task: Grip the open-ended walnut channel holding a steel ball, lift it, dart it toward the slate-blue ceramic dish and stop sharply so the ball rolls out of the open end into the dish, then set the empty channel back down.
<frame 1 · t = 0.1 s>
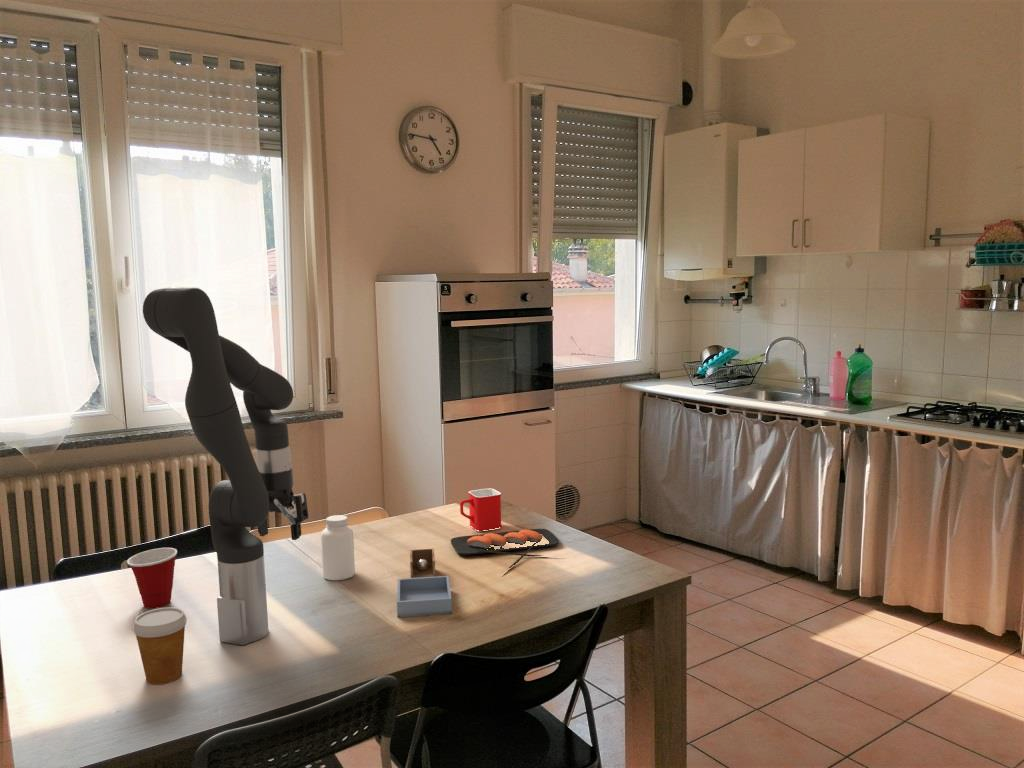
hand: (279, 537, 183), 17 cm above the table, tool pointing down, fingers open, 8 cm apart
ball: (422, 564, 207), point 2 cm above the table, touching channel
sushi plate: (512, 556, 220), on the table
mug: (479, 529, 243), on the table
pill bottle: (339, 576, 207), on the table
channel: (423, 576, 205), on the table, touching ball
plastic cup: (156, 604, 191), on the table
dish: (424, 603, 188), on the table
disposable coffee cup: (164, 677, 156), on the table
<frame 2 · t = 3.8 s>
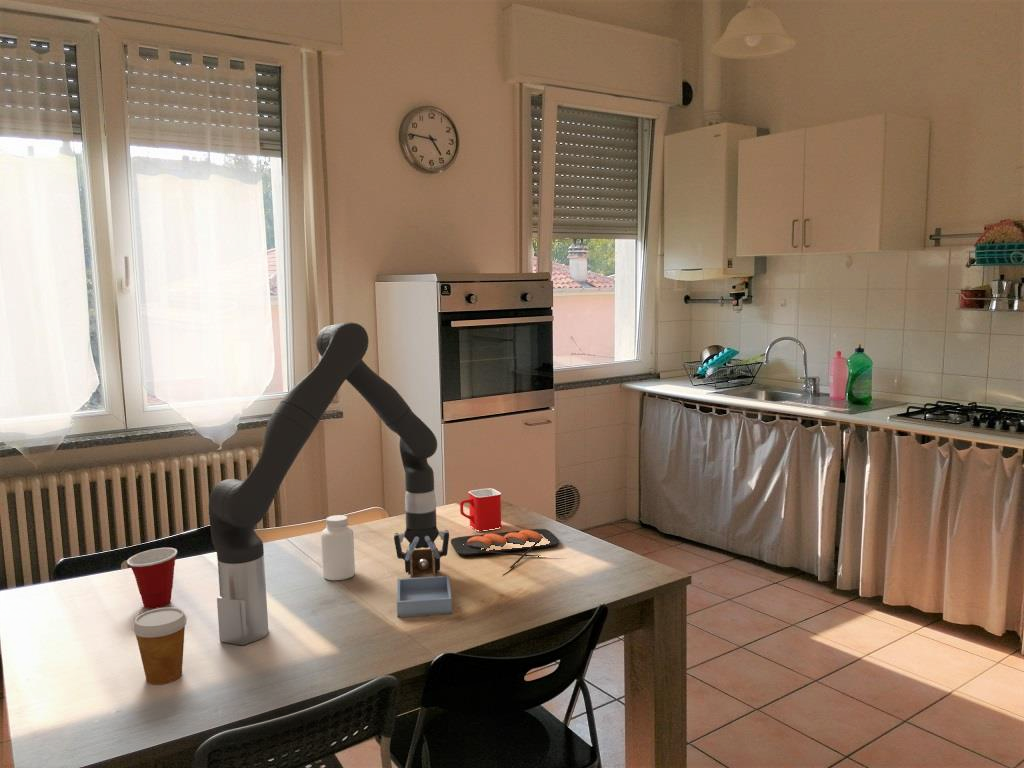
hand: (422, 572, 205), 1 cm above the table, tool pointing down, fingers closed on channel, 6 cm apart
channel: (422, 576, 205), on the table, touching ball, gripper
everything else where it was.
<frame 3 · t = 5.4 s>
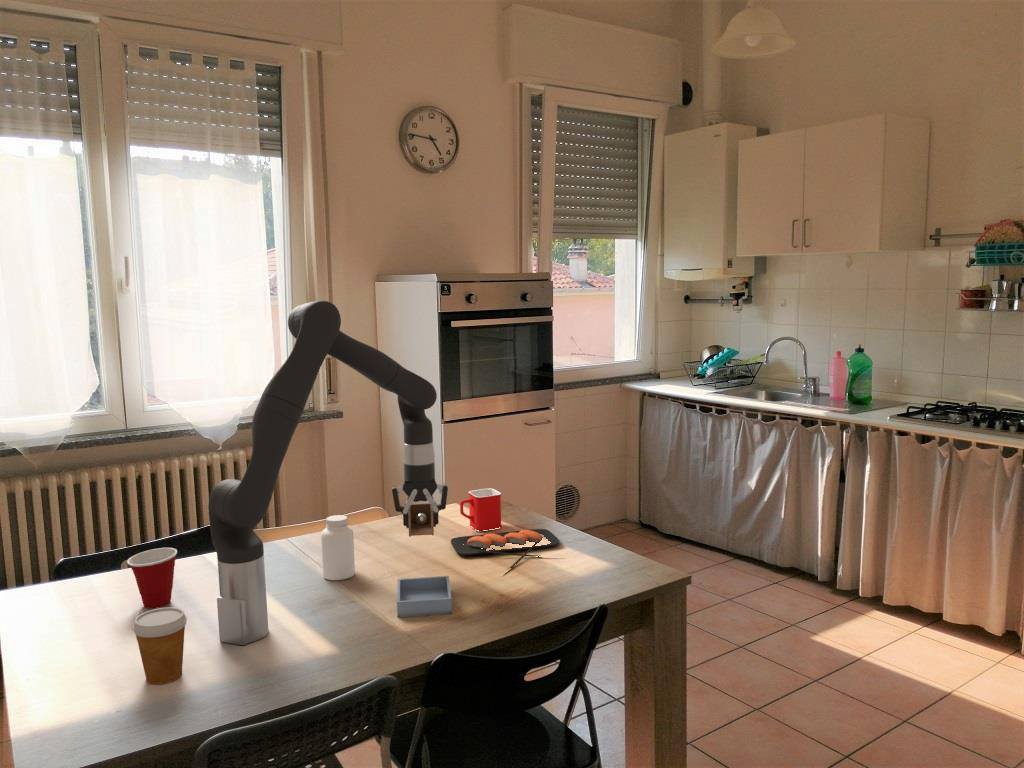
hand: (421, 526, 203), 13 cm above the table, tool pointing down, fingers closed on channel, 6 cm apart
ball: (421, 518, 206), point 14 cm above the table, tilted 9°, touching channel
channel: (421, 530, 203), point 12 cm above the table, touching ball, gripper
everything else where it was.
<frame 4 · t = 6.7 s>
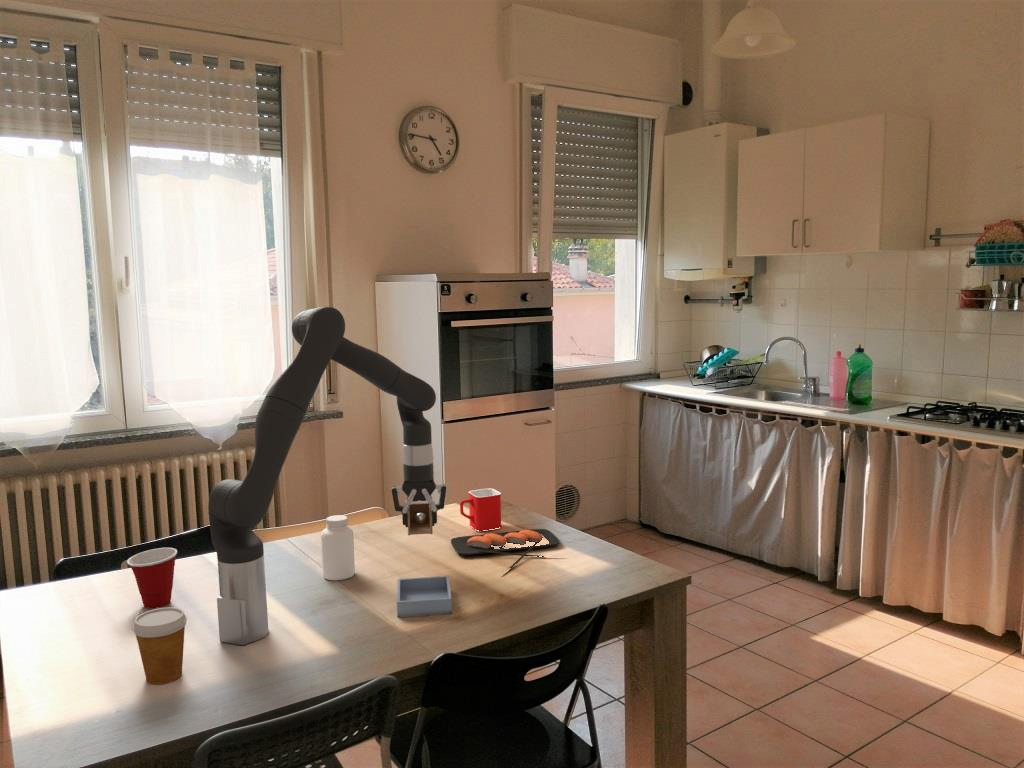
hand: (420, 525, 208), 12 cm above the table, tool pointing down, fingers closed on channel, 6 cm apart
ball: (420, 518, 210), point 13 cm above the table, tilted 12°, touching channel
channel: (420, 529, 208), point 11 cm above the table, touching ball, gripper
everything else where it was.
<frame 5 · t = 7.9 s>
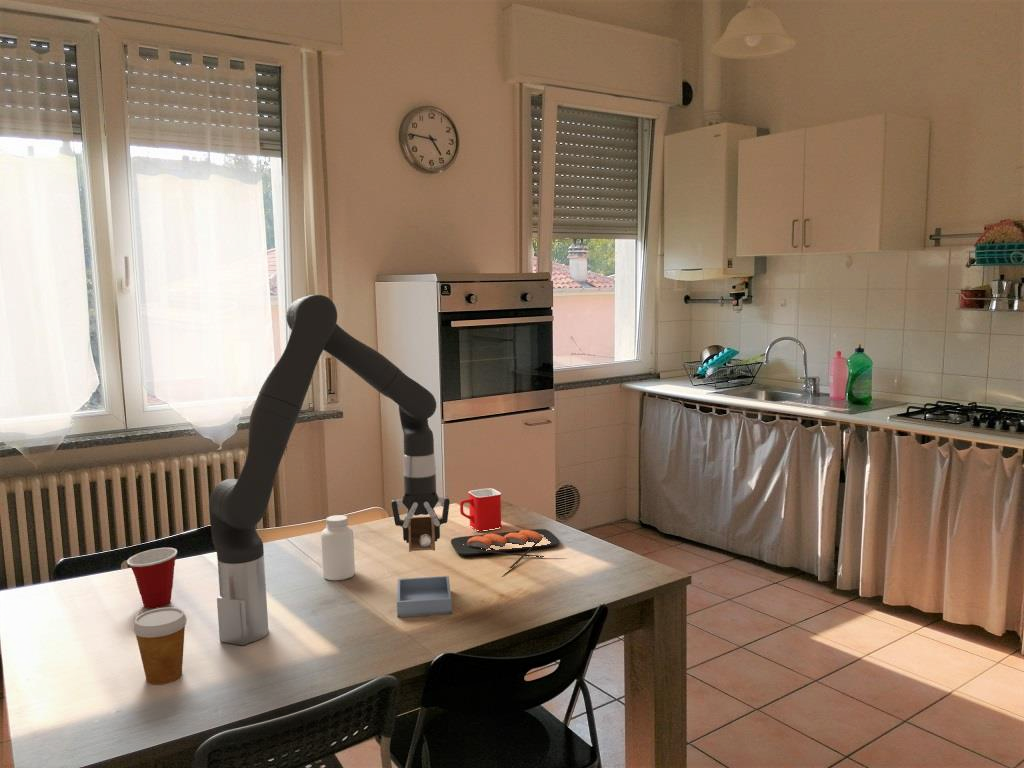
hand: (421, 540, 195), 12 cm above the table, tool pointing down, fingers closed on channel, 6 cm apart
ball: (425, 540, 191), point 13 cm above the table, tilted 120°, touching channel
channel: (421, 544, 195), point 11 cm above the table, touching ball, gripper
everything else where it was.
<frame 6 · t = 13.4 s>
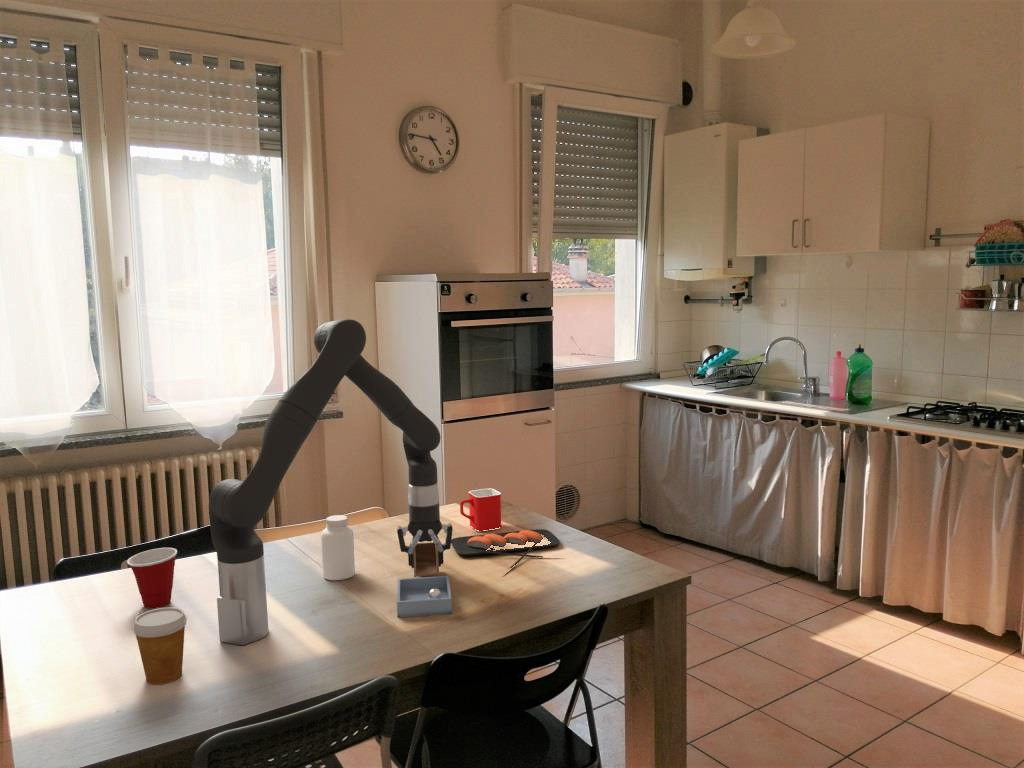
hand: (426, 566, 204), 3 cm above the table, tool pointing down, fingers closed on channel, 6 cm apart
ball: (434, 595, 187), point 2 cm above the table, tilted 29°, touching dish
channel: (426, 569, 205), point 2 cm above the table, touching gripper
everything else where it was.
when the fingers open (2 cm above the table, at t = 14.0 s): channel drops 1 cm, on the table.
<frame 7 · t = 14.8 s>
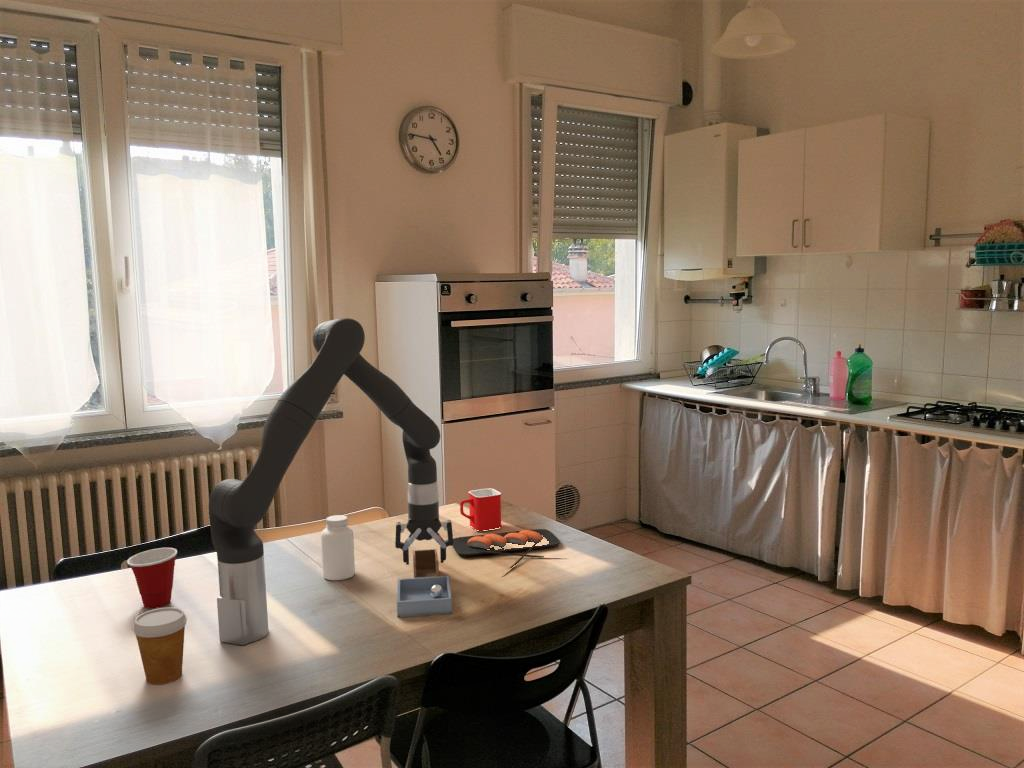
hand: (424, 562, 204), 4 cm above the table, tool pointing down, fingers open, 8 cm apart
ball: (436, 591, 190), point 2 cm above the table, tilted 78°, touching dish
channel: (426, 577, 205), on the table
everything else where it was.
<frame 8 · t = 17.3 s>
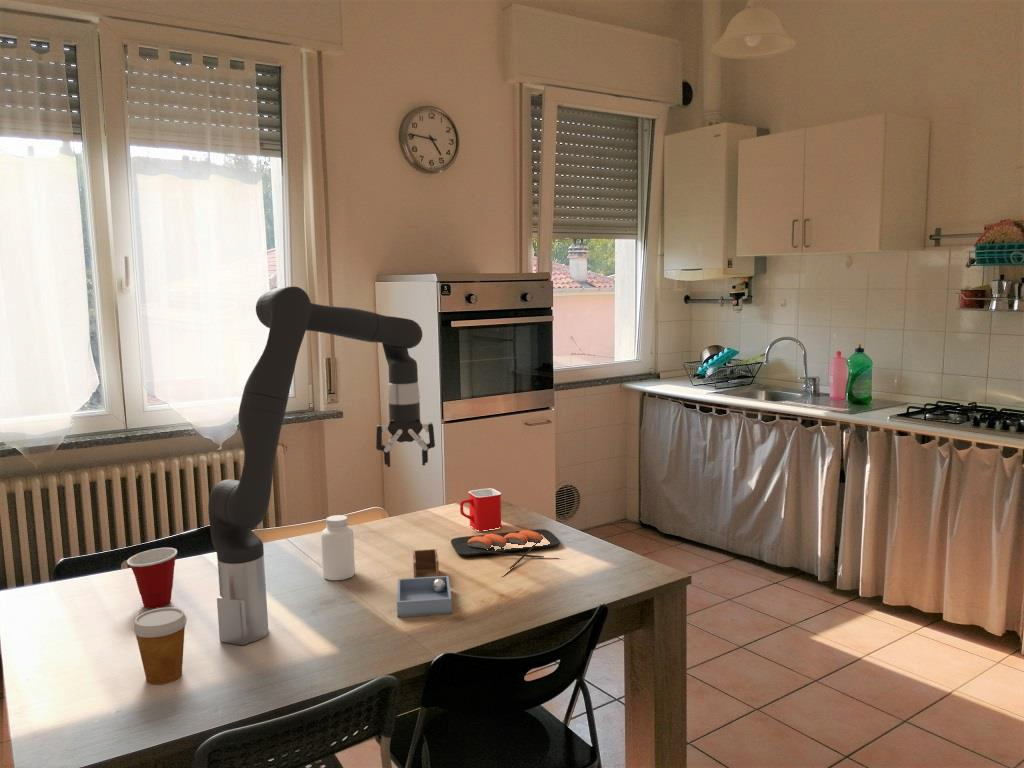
hand: (406, 465, 202), 28 cm above the table, tool pointing down, fingers open, 8 cm apart
ball: (439, 585, 193), point 2 cm above the table, tilted 139°, touching dish
everything else where it was.
at the end: ball 6.0 cm from the dish (horizontally); ball point 2.1 cm above the table; ball touching dish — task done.
